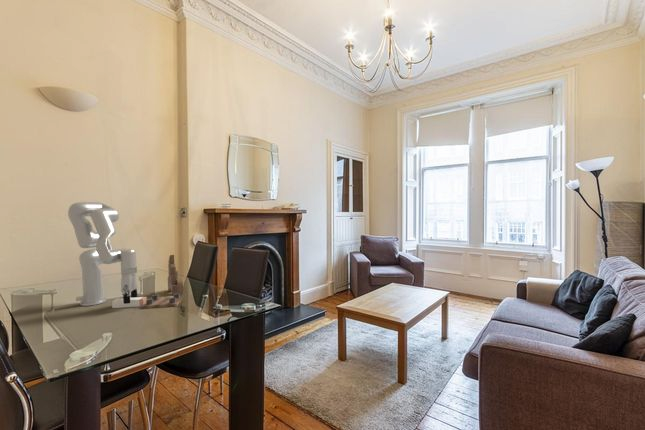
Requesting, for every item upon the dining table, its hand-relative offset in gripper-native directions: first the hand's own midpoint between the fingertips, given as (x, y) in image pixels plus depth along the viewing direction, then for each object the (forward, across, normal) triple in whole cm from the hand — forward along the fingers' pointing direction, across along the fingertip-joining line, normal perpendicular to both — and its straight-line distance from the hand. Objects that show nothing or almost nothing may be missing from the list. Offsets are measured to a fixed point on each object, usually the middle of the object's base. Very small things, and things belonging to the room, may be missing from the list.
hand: (130, 300), depth 174 cm
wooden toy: (+3, -24, +17) cm, 30 cm away
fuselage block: (+3, 0, -1) cm, 3 cm away
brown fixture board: (+3, 0, +17) cm, 18 cm away
